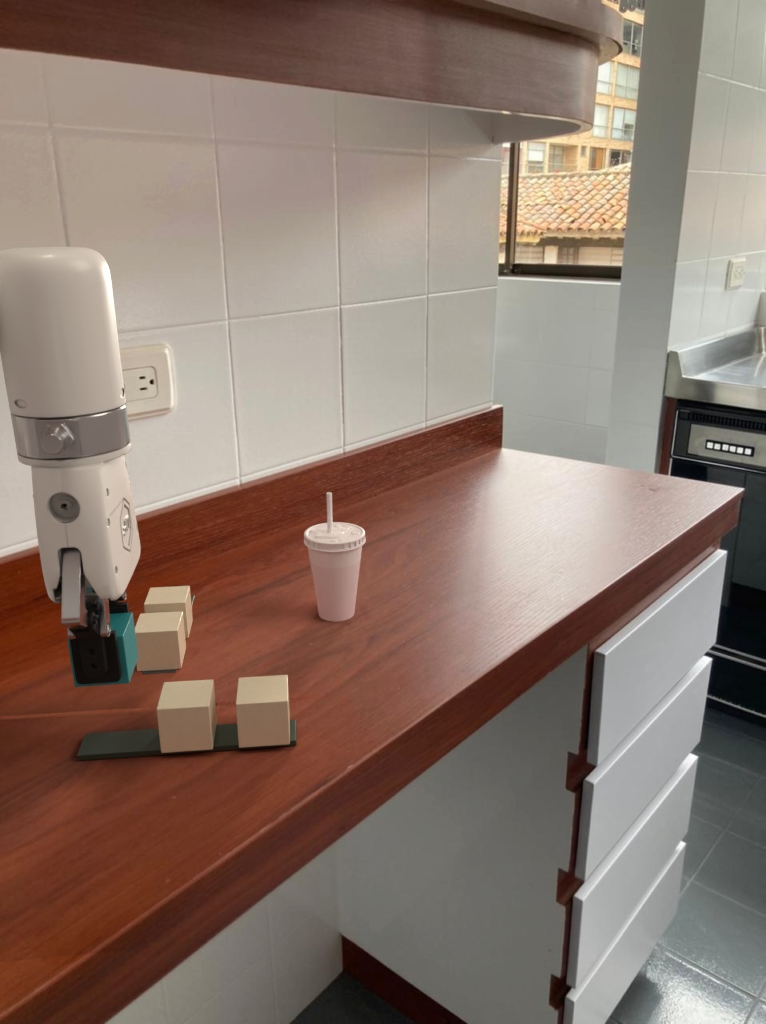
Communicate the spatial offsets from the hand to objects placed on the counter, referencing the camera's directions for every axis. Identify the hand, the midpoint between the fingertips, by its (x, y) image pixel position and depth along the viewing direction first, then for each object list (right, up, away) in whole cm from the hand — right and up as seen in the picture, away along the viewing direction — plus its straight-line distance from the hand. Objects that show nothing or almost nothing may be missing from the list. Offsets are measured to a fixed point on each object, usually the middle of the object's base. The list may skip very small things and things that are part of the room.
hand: (106, 662), depth 63 cm
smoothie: (+16, 0, +24) cm, 29 cm away
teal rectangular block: (0, -1, 0) cm, 1 cm away
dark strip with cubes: (+6, -7, +3) cm, 10 cm away
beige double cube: (0, -1, +21) cm, 21 cm away
